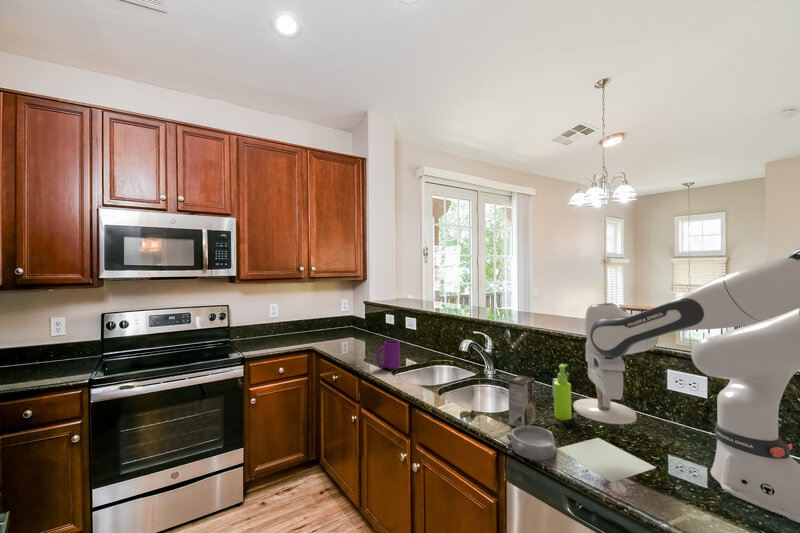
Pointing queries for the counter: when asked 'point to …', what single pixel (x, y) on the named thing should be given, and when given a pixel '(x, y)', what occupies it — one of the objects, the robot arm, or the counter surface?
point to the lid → (604, 411)
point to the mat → (606, 459)
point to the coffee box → (521, 401)
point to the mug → (390, 354)
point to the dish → (532, 442)
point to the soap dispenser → (562, 395)
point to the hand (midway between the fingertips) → (603, 403)
